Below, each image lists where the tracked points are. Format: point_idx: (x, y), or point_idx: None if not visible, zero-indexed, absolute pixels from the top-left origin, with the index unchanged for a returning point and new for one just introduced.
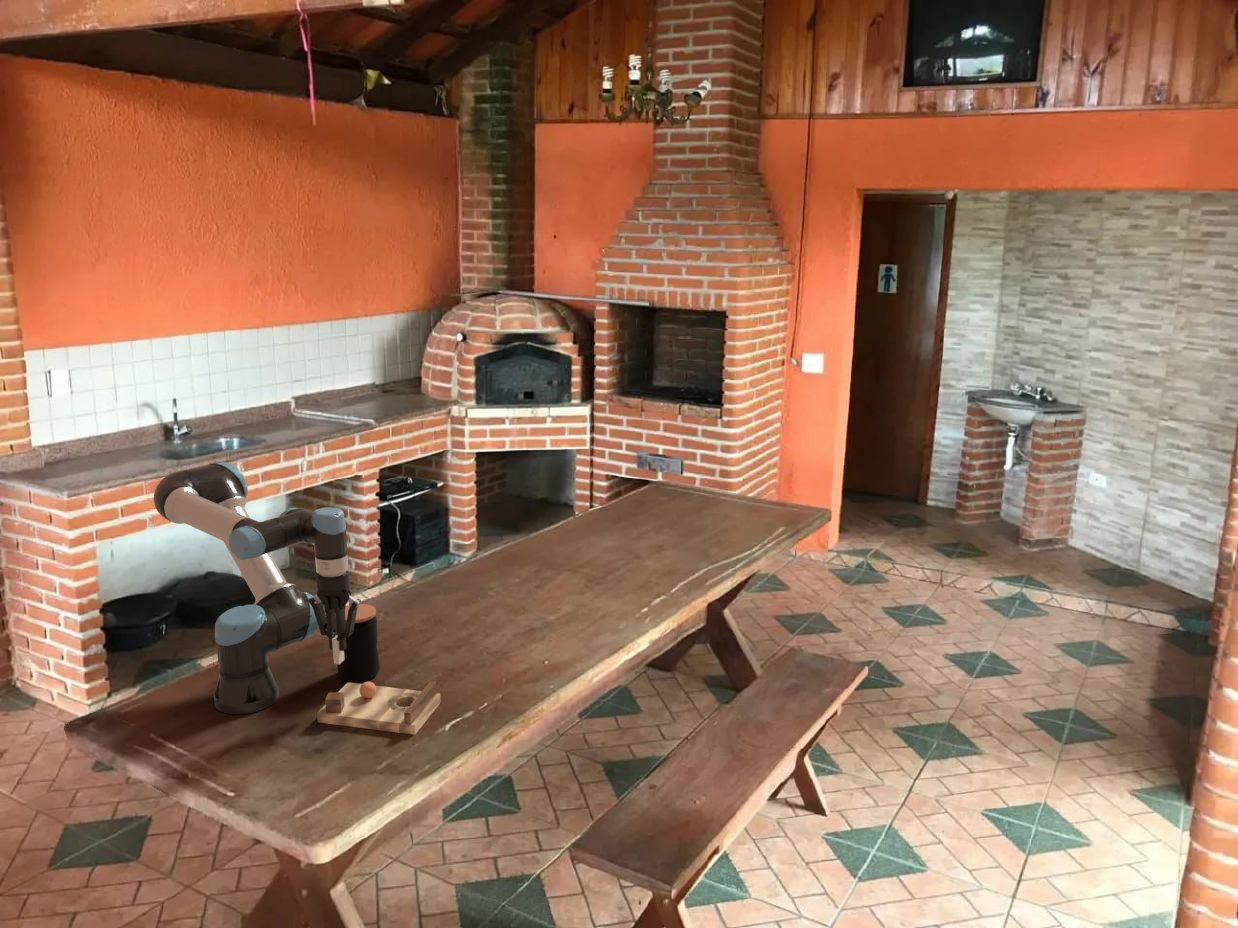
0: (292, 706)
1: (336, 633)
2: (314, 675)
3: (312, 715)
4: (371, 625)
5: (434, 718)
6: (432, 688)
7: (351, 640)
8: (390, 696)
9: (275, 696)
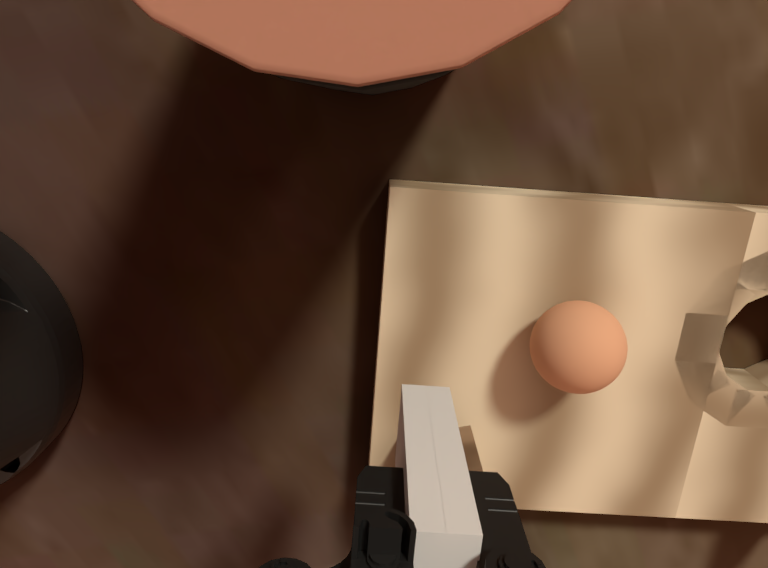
0: (184, 365)
1: (411, 563)
2: (106, 18)
3: (317, 422)
4: None
5: None
6: None
7: (395, 86)
8: (680, 303)
9: (67, 353)
